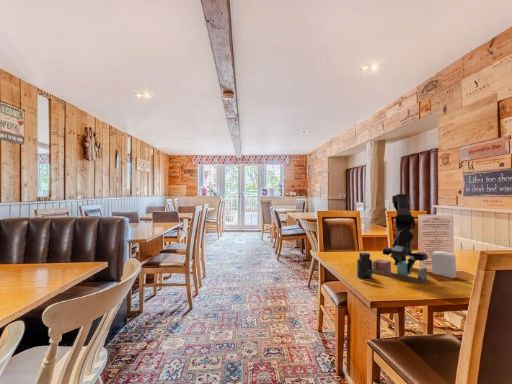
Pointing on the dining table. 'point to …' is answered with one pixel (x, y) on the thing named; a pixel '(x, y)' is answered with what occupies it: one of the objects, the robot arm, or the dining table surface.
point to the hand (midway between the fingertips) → (404, 271)
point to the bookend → (423, 274)
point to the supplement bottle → (364, 266)
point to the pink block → (384, 265)
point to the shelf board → (394, 274)
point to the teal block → (403, 268)
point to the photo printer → (444, 264)
